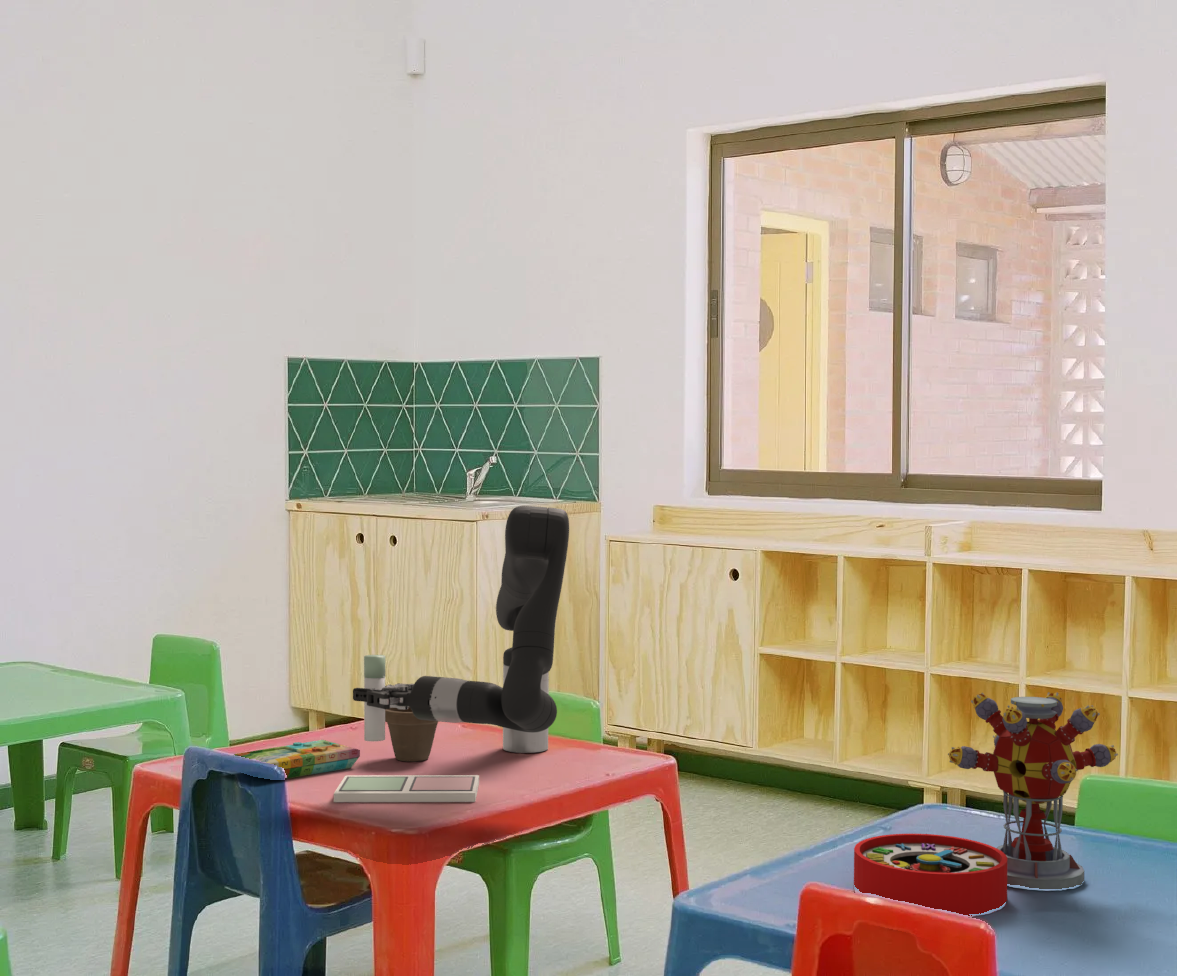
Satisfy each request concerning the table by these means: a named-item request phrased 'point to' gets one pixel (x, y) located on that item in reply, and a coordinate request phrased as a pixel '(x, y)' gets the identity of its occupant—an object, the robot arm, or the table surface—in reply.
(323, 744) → the puzzle game
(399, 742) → the flower pot
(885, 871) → the toy clock
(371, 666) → the green marker
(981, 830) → the table surface
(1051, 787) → the red knobbed tall piece
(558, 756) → the table surface
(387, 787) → the colouring board
